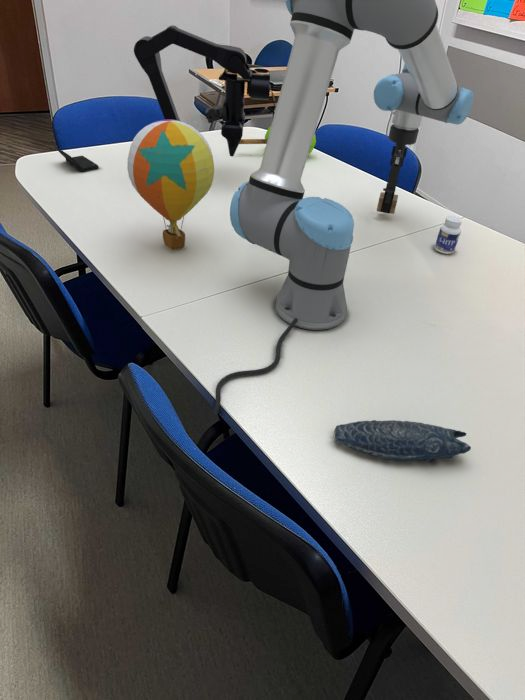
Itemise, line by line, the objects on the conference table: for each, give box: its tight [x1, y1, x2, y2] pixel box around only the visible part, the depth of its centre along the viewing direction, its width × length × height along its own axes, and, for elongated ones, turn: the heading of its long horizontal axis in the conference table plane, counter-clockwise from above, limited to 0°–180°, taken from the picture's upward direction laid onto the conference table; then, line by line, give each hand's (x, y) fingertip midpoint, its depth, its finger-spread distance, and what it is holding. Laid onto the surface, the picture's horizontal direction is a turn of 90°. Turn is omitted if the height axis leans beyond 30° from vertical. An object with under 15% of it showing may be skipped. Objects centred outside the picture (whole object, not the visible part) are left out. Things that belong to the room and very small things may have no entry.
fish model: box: [333, 419, 472, 462], centre depth 82 cm, size 7×21×5 cm, turn 84°
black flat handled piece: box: [53, 145, 99, 172], centre depth 166 cm, size 12×7×10 cm
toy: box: [126, 119, 215, 251], centre depth 121 cm, size 20×20×30 cm
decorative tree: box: [239, 125, 317, 155], centre depth 187 cm, size 18×10×30 cm
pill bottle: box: [434, 215, 463, 255], centre depth 137 cm, size 5×5×9 cm
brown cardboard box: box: [376, 191, 399, 215], centre depth 152 cm, size 5×5×4 cm
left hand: (232, 151), depth 163 cm, fingers open, 9 cm apart
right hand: (385, 208), depth 153 cm, fingers closed on brown cardboard box, 5 cm apart
